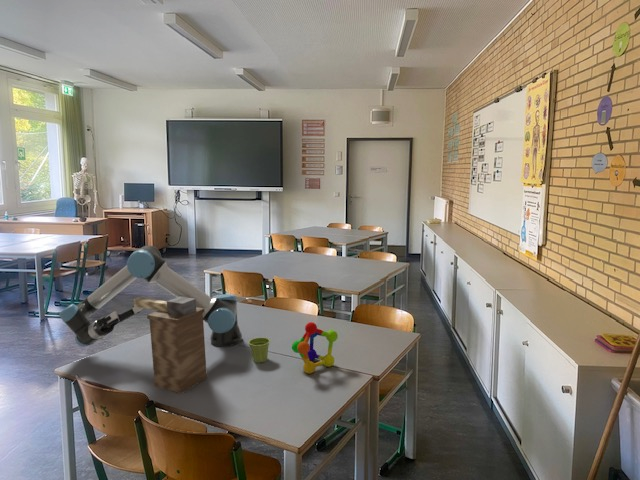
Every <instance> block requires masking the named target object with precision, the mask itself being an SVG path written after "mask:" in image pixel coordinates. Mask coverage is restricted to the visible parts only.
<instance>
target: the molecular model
mask: <svg viewBox="0 0 640 480" xmlns="http://www.w3.org/2000/svg"><path fill="white" fill-rule="evenodd" d="M304 330H305V333H304V334H303V336H302V337H301V338H300V340H296V341H294V342H293V343H292V344H291V349H292V351H293V352H294V353H296V354H299V356H300V358H301V359H302V361H303V370H304V372H305V373H306V374H307V375H308V374H313V373H314V372H315V370H316V368H317V367H321V366H323V365H324V366H326V367H329V368H330V367H332V366H334V364H335V358H334V356H333V355H332V353H333V352H332V351H333V345H334V342H336V341H337V339H338V333H337V331H336V330H334V329H330V330H328V331H325V330H322V329H320V328H318V326H317V324H316V323H314V322H311V321H310V322H308V323H306V325H305V327H304ZM317 336H320V337H324V338H326V340H327V341H328V347H327V354H326V355H324V356H323V355H320V354H317V351H316V350H315V349H314V341H315V340H314V339H315V338H316V337H317ZM315 359H317V360H320V361H318V362H314V360H315Z"/></svg>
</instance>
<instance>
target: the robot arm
mask: <svg viewBox="0 0 640 480" xmlns="http://www.w3.org/2000/svg"><path fill="white" fill-rule="evenodd" d="M137 279H143V280H144V281H145V282H147V283H149V284H153V283H155V284H156V285H158V286H159V287H161V288H163V289H164V290H165V291H166V292H167V293H170V294H171V295H173V296H174V297H175V298H177V297H187V298H194V299H196V307H198V308H204V311H205V312H204V313H203V322H205V323H207V326H208V327H209V329H210V330H211V334H210V345H213V346H215V347H229V346H234V345H237V344H239V343H241V342H242V341H243V335H242V332H241V329H240V327H239V325H238V324H239V323H238V305H237V301H238V300H237V296H236V295H235V294H231V293H230V294H229V293H227V294H226V293H225V294H217V295H213V296H212V297H211V296H209V295H208V294H207V293H205V292H204V291H203V290H201V289H199V287H197V286H195V285H194V284H192V282H190V281H188V280H187V279H186V278H184V277H183V276H181V275H180V274H178V273H177V272H176V271H175V270H173V269H171V268H170V267H169V266H168V263H167V261H166V260H165V259H163V258H162V255H161V252H160V250H159V249H158V248H157V247H155V246H153V245H144V246H142V247H141V246H140V247H139V249H137V250H135V251H133V252H132V253H131V254H130V256H128V259H127V262H126V265H125V266H124V267H122V268H121V269H120V270H119V271H118V272H116V273H115V274H114V275H113V276H111V277H110V278H109V279H108V280H107V281H105V282H104V283H103V284H102V285H101V286H99V287H98V288H97V289H95V290H94V291H92V293H91V294H89V295H88V296H87V297H85V298H84V299H83V300H82V301H81V302H79V303H78V304H74V303H71V304H70V305H68V306H66V308H64V309H63V310H61V311H60V312H59V313H58V314H59V315H58V316H59V318H60V319H61V320H62V322H64V323H65V325H66V326H67V327H68V328H69V329H70V330H71V332H73V333H74V335H75V337H74V338H75V343H76V345H78V346H79V347H82V348H85V347H89V346H91V345H93V344H94V343H96V342H98V341H99V340H103V339H104V337H106V336H107V335H109V334H110V333H112V332H113V331H114V329H115V327H116V326H117V325H118V324H120V323H122V322H124V321H126V320H128V319H129V318H132V317H133V316H135V315H137V314H140V312H141V311H142V310H144V309H145V308H140V307H134V305H133V306H132V308H131V309H128V310H127V311H124V312H123V313H121V314H118V313H117V311H116V310H114V311H113V312H111V313H109V314H108V315H107V316H101V317H100V318H98V319H97V320H95V321H93V322H92V323H91V321H90V320H89V318H90V317H91V316H92V315H94V314H95V313H96V312H98V310H100V309H101V308H102V307H103V306H104V305H106V304H107V303H109V302H110V300H112V299H113V298H114V297H115V296H117V295H118V294H119V293H121V292H122V291H123V290H124V289H125V288H126V287H128V286H129V285H130V284H132V283H133V282H134V281H135V280H137Z"/></svg>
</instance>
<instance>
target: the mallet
mask: <svg viewBox="0 0 640 480" xmlns="http://www.w3.org/2000/svg"><path fill="white" fill-rule="evenodd" d="M133 306H134V307H140V308H144V309H146V310H147V309H149V310H154V311H165V312H168V314H171V315H177V316H183V317H184V316H186V315H189V314H191V313H193V312H196V299H194V298H187V297H175V298H171V299H169V300H167V301H166V300H160V299H154V298H153V299H152V298H146V297H135V298H133Z"/></svg>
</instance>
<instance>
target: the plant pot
mask: <svg viewBox="0 0 640 480" xmlns="http://www.w3.org/2000/svg"><path fill="white" fill-rule="evenodd" d="M270 343H271V340H270V339H269V338H267V337H255V338H252V339H249V340H248V345H249V347H250V350H251V354H252V355H251V356H252V361H253V362H255V363H262V362H263V363H264V362H267V360H268V357H269V356H268V354H269V345H270Z"/></svg>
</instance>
